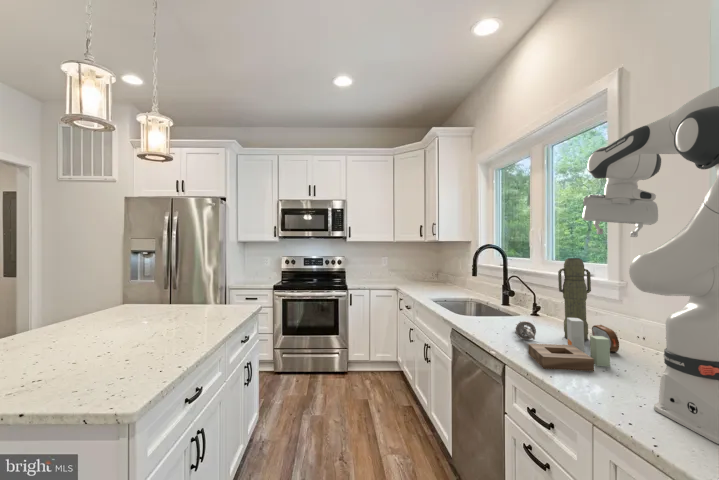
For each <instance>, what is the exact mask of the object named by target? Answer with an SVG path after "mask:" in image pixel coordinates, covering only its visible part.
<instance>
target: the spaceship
mask: <svg viewBox="0 0 719 480" xmlns="http://www.w3.org/2000/svg"><path fill="white" fill-rule="evenodd" d="M515 325H516V326H515V327H514V329H515V333H516V335H517V336H518V338H520V339H522V340H525V341H526V340H527V341H530V340H536V337H535V336H536V334H537V330H536V327H535V325H534V324H533V323H532V322H530V321H527V320H523V321H521V320H520V321H519V322H518V323H515Z"/></svg>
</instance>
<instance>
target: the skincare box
mask: <svg viewBox="0 0 719 480" xmlns="http://www.w3.org/2000/svg"><path fill="white" fill-rule="evenodd" d="M566 339H567V345H573V346H574V347H576V348H577V349H579V350H581V351H582V352H584V353H585V348H586V347H585V341H584V322H583V321H582V320H581V319H579V318H567V338H566ZM585 354H586V353H585Z"/></svg>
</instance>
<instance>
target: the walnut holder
mask: <svg viewBox="0 0 719 480" xmlns="http://www.w3.org/2000/svg"><path fill="white" fill-rule="evenodd" d="M527 348H528V351H527V352H528V356H529V357H530V358H532V359H533V360H534V361H535V362H536V363H537V364H538V365H539V367H541V369H543V370H544V369H545V370H555V371H556V370H558V371H560V370H561V371H579V372H580V371H581V372H582V371H583V372H595V364H594V359H593V358H592V357H591V355H589V354H587V353H584V352H582V351H581V350H579V349H577V348H576V347H574V346H573V345H568V344H556V343H555V344H551V343H527Z"/></svg>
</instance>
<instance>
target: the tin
mask: <svg viewBox="0 0 719 480" xmlns="http://www.w3.org/2000/svg"><path fill="white" fill-rule="evenodd" d="M591 336H603V337H605V338H607V339H609V342H610V353H612V352H613V353H614V352H615V353H617V352H618V351H619V349H620V341H619V338H618V335H617V333H616V332H615V331H614V330H613V329H611V328H609V327H607V326H604V325H602V324H597V325H596V324H595V325H593V326H592V327H591Z"/></svg>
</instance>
